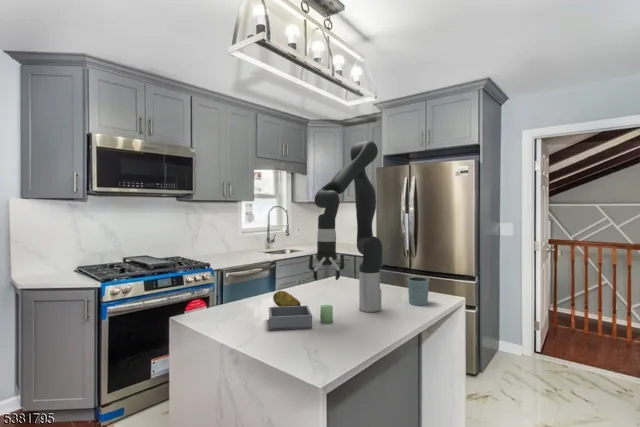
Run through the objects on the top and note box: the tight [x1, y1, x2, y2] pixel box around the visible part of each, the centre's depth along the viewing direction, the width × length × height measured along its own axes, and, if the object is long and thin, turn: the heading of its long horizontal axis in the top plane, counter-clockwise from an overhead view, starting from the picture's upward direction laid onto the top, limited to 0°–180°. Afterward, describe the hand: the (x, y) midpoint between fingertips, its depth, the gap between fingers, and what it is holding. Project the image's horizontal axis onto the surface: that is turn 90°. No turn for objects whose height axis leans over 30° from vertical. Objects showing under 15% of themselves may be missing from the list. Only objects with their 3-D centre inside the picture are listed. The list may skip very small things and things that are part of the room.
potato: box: [272, 290, 302, 307], centre depth 162 cm, size 8×13×8 cm, turn 45°
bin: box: [268, 305, 313, 332], centre depth 143 cm, size 16×14×5 cm
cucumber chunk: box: [319, 304, 334, 324], centre depth 146 cm, size 5×5×6 cm
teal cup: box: [407, 276, 430, 307], centre depth 172 cm, size 10×10×12 cm
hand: (326, 279), depth 146 cm, fingers open, 8 cm apart
